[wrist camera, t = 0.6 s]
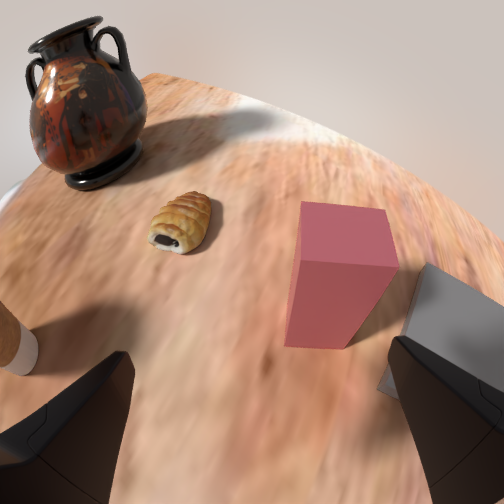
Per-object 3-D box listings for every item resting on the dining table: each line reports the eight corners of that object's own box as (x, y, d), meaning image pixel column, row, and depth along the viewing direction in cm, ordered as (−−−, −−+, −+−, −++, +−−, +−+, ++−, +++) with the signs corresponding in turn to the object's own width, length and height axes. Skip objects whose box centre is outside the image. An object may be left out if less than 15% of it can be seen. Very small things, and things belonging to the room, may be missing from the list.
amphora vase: (164, 128, 53) (142, 5, 31) (149, 189, 39) (103, 6, 17) (77, 150, 51) (43, 43, 29) (41, 215, 38) (-23, 77, 16)
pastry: (180, 198, 38) (174, 177, 35) (224, 206, 37) (222, 183, 34) (146, 249, 32) (136, 227, 29) (195, 261, 31) (188, 239, 28)
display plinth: (483, 435, 15) (495, 432, 14) (376, 389, 21) (385, 384, 19) (506, 321, 23) (515, 314, 21) (420, 272, 28) (427, 262, 27)
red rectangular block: (343, 349, 24) (399, 267, 14) (284, 346, 24) (300, 259, 14) (342, 306, 26) (384, 209, 16) (287, 303, 27) (301, 201, 17)
